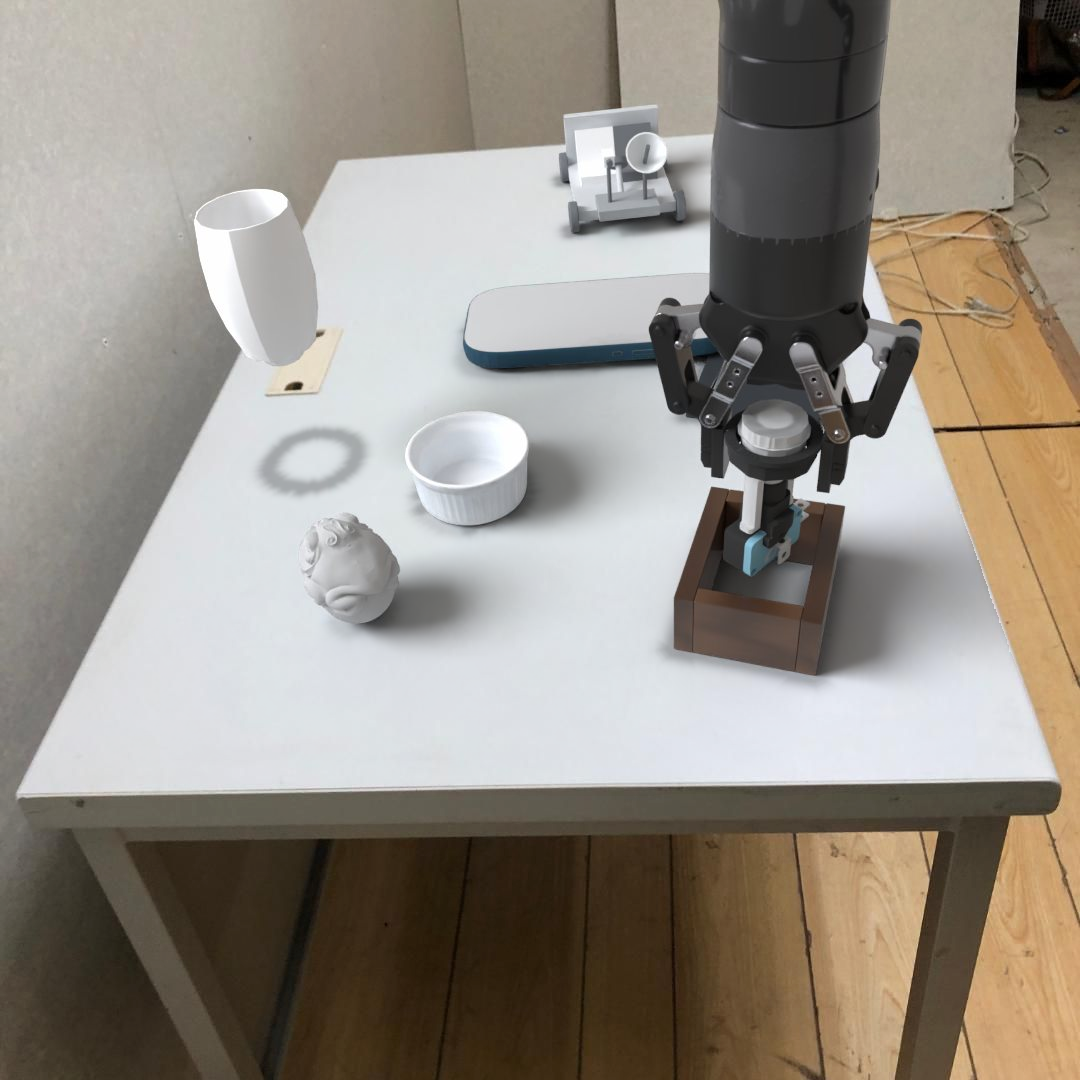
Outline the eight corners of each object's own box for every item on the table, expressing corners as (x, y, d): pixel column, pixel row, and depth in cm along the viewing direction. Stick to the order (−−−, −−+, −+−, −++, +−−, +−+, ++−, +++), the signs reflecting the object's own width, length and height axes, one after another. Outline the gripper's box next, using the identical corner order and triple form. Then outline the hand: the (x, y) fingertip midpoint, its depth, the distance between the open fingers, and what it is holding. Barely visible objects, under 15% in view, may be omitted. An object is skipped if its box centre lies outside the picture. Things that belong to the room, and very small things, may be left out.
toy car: (691, 138, 98) (567, 152, 99) (690, 237, 105) (574, 250, 105) (662, 72, 112) (553, 85, 112) (663, 163, 118) (560, 175, 119)
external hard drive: (730, 289, 96) (730, 269, 95) (743, 358, 88) (744, 337, 86) (473, 307, 99) (470, 288, 97) (461, 376, 90) (458, 356, 89)
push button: (770, 500, 68) (782, 369, 61) (840, 539, 65) (860, 405, 58) (700, 553, 65) (704, 420, 58) (770, 596, 62) (783, 461, 55)
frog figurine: (367, 561, 74) (346, 484, 69) (430, 610, 70) (412, 531, 65) (294, 608, 71) (267, 530, 66) (355, 662, 67) (331, 583, 62)
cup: (367, 430, 86) (307, 182, 72) (349, 487, 80) (281, 232, 66) (280, 432, 86) (204, 188, 72) (257, 490, 81) (170, 237, 67)
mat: (833, 361, 87) (833, 357, 87) (815, 433, 80) (816, 428, 80) (712, 348, 90) (712, 344, 90) (685, 416, 83) (685, 412, 83)
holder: (838, 556, 70) (845, 505, 67) (815, 676, 63) (822, 624, 60) (709, 536, 73) (711, 486, 70) (673, 649, 66) (673, 597, 63)
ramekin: (546, 461, 81) (542, 414, 78) (516, 539, 74) (510, 491, 71) (436, 451, 83) (428, 405, 80) (398, 526, 76) (387, 479, 73)
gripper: (621, 222, 49) (634, 500, 61) (948, 243, 45) (896, 538, 56) (661, 156, 55) (666, 424, 66) (957, 169, 50) (908, 453, 62)
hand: (772, 475), depth 61 cm, fingers closed on push button, 5 cm apart
